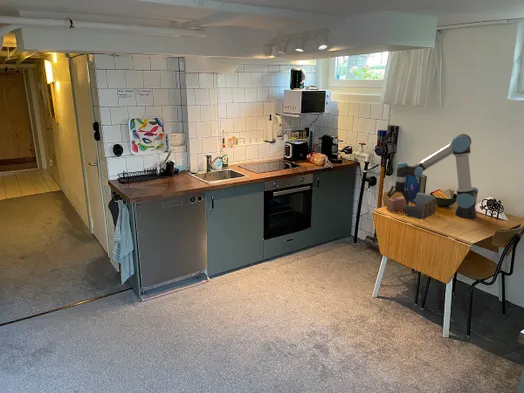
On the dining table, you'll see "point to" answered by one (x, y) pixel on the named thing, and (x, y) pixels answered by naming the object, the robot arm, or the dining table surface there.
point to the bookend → (413, 211)
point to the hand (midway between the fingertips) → (397, 206)
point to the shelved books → (423, 199)
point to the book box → (396, 203)
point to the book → (415, 186)
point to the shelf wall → (428, 209)
